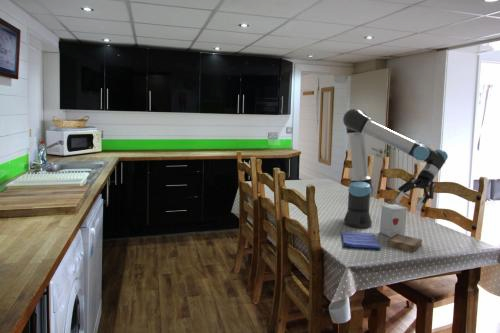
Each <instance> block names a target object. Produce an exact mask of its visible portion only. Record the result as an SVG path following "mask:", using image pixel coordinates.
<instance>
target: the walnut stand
mask: <svg viewBox="0 0 500 333" xmlns="http://www.w3.org/2000/svg"><path fill="white" fill-rule="evenodd" d="M422 241H423V239H422V238H418V237H417V238H416V237H412V236H408V235H405V234H404V235H399V234H396V235H394V236H393V237H389V239H387V247H390V248H395V249H399V250H404V251H407V252H411V253H415V252H416V251H417V250H419V248H420V247H422V244H423V242H422Z"/></svg>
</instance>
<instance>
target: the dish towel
mask: <svg viewBox="0 0 500 333" xmlns="http://www.w3.org/2000/svg"><path fill="white" fill-rule="evenodd" d="M340 232H341V233H340V234H341V241H342V247H343V248H345V249H355V250H367V251H381V249H382V247H381V246H380V244H379V242H378V239H377V237H376V235H375V233H374V232H358V231H357V232H356V231H355V232H354V231H353V232H352V231H348V230H342V229H341V230H340Z"/></svg>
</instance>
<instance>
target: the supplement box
mask: <svg viewBox="0 0 500 333" xmlns="http://www.w3.org/2000/svg"><path fill="white" fill-rule="evenodd" d="M380 211H381V212H380V223H379V224H380V225H379V226H380V227H379V233H381V234H383V235H384V236H387V237H388V238H392V237H393V236H394V235H396V234H399V235H404V236H405V235H406V234H405V232H406V224H407V223H406V222H407V211H408V210H407V207H405V206H401V205H399V204H398V203H396V204H394V203H393V204H382V205H381V210H380Z"/></svg>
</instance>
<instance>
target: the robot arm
mask: <svg viewBox="0 0 500 333" xmlns="http://www.w3.org/2000/svg"><path fill="white" fill-rule="evenodd" d="M342 118H343V119H342V122H343V124H344V126H345V128H346V135H348V136H349V143H350V144H349V146H350V155H351V168H352V177H351V179H350V183H349V185H348V194H347V195H348V197H347V198H348V199H347V211H346V212H345V216H344V218H343V224H344V225H345V226H348V227H349V228H355V229H368V228H371V227H372V223H373V222H372V221H373V220H372V217H371V213H370V205H371V204H370V203H371V202H370V201H371V198H372V196H373V194H374V187H373V182H372V177H371V176H370V175H369V169H368V167H369V166H368V154H367V145H366V135H368V136H369V137H371V138H374V139H376V140H378V141H380V142H382V143H384V144H386V145H388V146H390V147H392V148H395V149H396V150H398V151H400V152H403V153H404V154H406V155H408V156H410V157H412V158H414V159H415V160H417V161H421V162H422V161H423V162H425V165H424V166H423V167H422V169H421V171H420V172H419V173H418V174H417V177H416V178H415V179H414V178H413V177H411V178H410V179H409V180H408V181H406V182H405V183H404V184H402V185H401V186H399V187H398V194H397V197H396V198H395V199H394V202H396V204H399V203H400V202H401V200H402V199H403V197H404V196H405V193H407V192H409V191H411V190H414V189H421V190H423V192H424V195H423V196H422V197H421V198H420V200H419V201H418V203H417V205H416V207H417V208H418V209H419V210H421V209H422V207H423V205H425V204H426V203H427V202H428V201H429V200H433V199H434V193H435V191H434V190H435V186H436V184H435V182H434V180H435V177H436V176H437V175H438V174H439V172H440V170H441V169H442V168H443V166H444V165H445V163H446V161H447V159H448V158H449V157H448V156H449V155H448V153H447V152H446V151H445V150H443V149H439V148H437V149H435V150H434V149H432V148H431V147H429V146H428V145H426V144H424V143H423V142H421V141H419V140H417V139H415V140H413V139H411V138H409V137H406V136H404V135H402V134H400V133H398V132H396V131H393V130H391V129H390V128H387V127H386V126H384V125H381V124H379V123H377V122H375V121H373V120H372V118H371V117H370V116H367V113H366V112H365V111H363V110H362V109H359V108H352V109H351V108H350V109H349V110H347V111H346V112H345V113H344V115H343V117H342ZM428 187H429V189H428Z"/></svg>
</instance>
